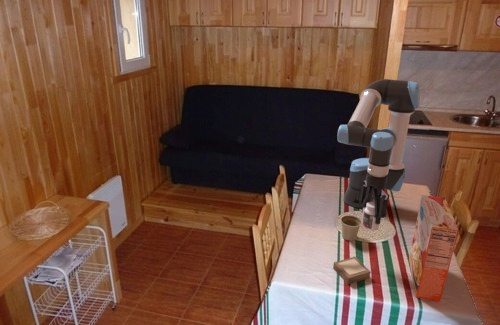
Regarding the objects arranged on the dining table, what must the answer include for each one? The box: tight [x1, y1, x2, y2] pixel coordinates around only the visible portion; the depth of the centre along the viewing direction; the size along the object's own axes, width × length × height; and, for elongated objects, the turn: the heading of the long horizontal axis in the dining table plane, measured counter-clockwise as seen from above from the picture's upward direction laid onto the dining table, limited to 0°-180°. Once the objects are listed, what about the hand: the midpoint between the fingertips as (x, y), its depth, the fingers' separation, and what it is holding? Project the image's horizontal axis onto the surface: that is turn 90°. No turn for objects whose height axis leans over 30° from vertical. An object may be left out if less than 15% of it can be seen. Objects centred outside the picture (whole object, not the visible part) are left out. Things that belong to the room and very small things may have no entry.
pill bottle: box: [362, 201, 375, 230], centre depth 153 cm, size 6×6×10 cm
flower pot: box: [339, 214, 363, 241], centre depth 173 cm, size 9×9×9 cm
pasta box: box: [408, 194, 459, 302], centre depth 143 cm, size 23×8×30 cm, turn 166°
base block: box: [332, 256, 371, 285], centre depth 151 cm, size 10×10×3 cm
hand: (369, 225), depth 155 cm, fingers closed on pill bottle, 6 cm apart
